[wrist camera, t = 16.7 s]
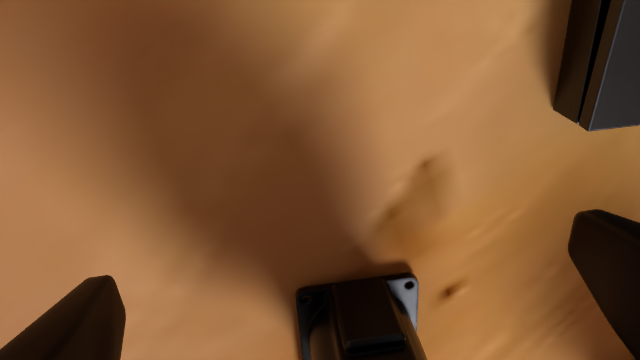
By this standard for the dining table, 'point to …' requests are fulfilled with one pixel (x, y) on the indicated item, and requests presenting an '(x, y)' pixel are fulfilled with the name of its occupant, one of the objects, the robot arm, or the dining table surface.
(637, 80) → the laptop screen
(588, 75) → the laptop
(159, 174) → the dining table surface
